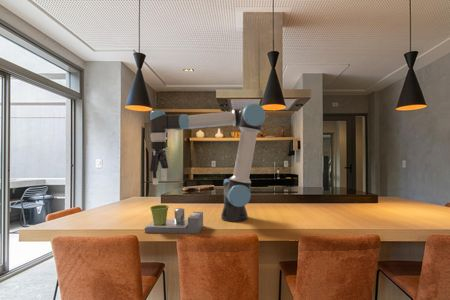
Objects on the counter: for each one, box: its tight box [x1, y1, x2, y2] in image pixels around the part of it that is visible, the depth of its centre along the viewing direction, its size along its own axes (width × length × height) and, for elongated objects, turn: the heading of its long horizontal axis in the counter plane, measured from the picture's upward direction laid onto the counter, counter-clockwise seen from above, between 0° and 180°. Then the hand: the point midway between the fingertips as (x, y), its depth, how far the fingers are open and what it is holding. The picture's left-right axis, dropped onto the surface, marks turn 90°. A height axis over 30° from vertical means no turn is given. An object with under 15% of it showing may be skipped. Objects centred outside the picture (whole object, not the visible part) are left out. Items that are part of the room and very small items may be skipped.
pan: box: [146, 219, 188, 228], centre depth 160 cm, size 20×12×1 cm, turn 83°
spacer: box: [174, 207, 186, 224], centre depth 160 cm, size 5×5×7 cm
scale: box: [144, 211, 204, 235], centre depth 160 cm, size 27×13×8 cm, turn 83°
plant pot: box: [149, 204, 170, 225], centre depth 159 cm, size 9×9×9 cm
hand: (160, 182), depth 160 cm, fingers open, 13 cm apart
